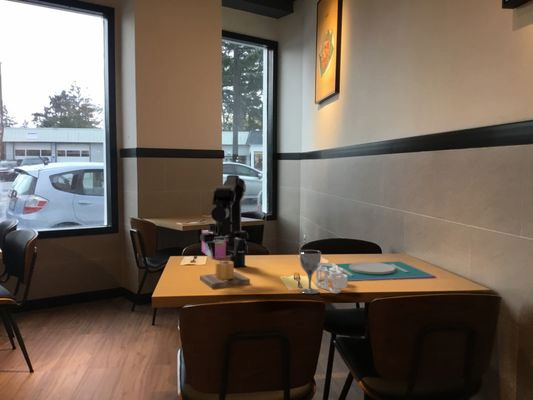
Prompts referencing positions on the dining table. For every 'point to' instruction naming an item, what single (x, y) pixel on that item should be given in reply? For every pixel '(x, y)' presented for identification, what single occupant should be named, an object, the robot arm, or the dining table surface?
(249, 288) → the dining table surface
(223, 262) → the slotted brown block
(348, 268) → the place mat
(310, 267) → the wine glass
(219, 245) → the gum box
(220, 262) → the notched tan hollow cylinder
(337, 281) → the clear lumpy piece
